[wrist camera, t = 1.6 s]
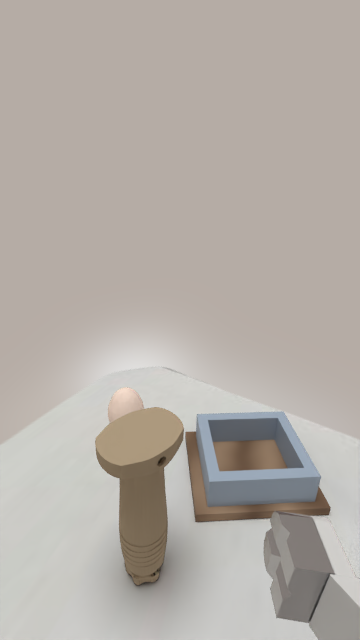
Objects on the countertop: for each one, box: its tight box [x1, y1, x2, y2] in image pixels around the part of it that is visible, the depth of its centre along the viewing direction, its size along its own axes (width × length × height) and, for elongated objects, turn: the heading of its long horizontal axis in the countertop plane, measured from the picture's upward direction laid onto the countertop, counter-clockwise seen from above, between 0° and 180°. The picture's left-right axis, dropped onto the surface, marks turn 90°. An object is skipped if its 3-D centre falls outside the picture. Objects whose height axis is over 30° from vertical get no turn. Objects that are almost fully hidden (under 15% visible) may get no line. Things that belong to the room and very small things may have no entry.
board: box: [186, 432, 330, 522], centre depth 39 cm, size 14×12×1 cm
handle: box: [95, 407, 184, 585], centre depth 26 cm, size 5×6×15 cm
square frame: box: [196, 412, 321, 507], centre depth 38 cm, size 11×10×4 cm
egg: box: [108, 387, 144, 423], centre depth 44 cm, size 5×5×7 cm
